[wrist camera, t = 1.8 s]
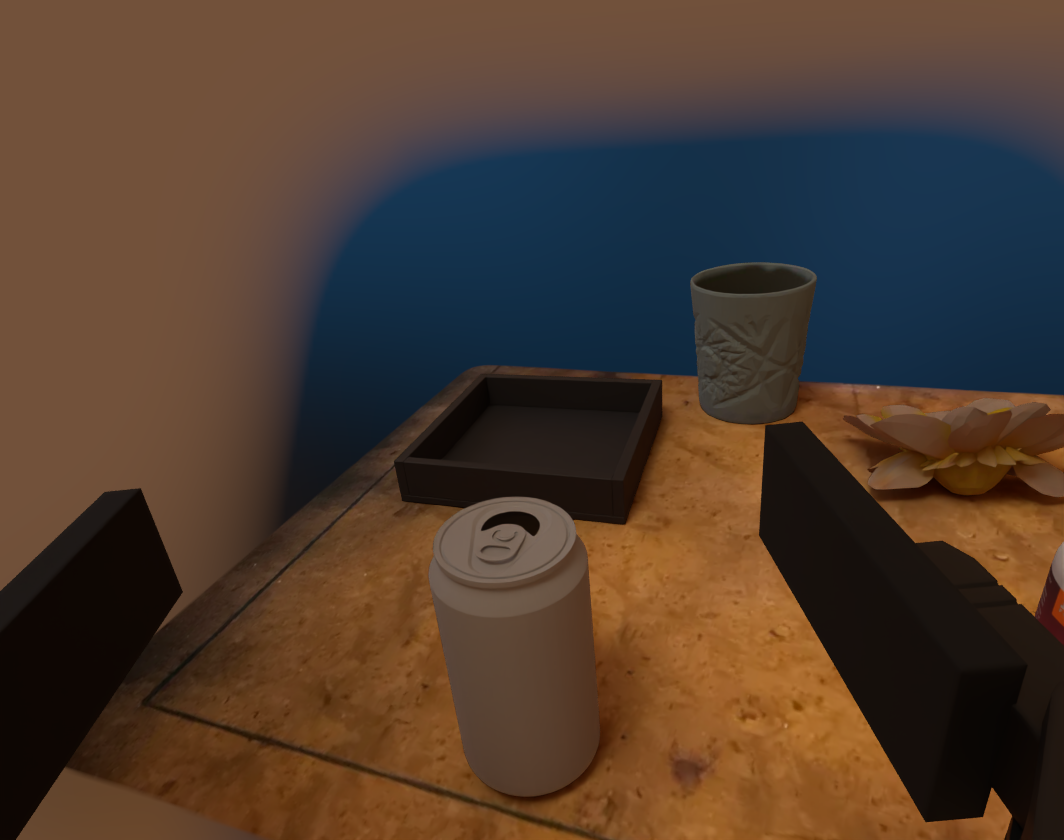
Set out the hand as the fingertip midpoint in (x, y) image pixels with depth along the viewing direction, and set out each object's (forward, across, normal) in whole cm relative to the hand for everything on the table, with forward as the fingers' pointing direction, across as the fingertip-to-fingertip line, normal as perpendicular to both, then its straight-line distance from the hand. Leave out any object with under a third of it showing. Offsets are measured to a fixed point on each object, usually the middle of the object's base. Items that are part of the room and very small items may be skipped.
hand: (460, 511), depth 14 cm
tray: (+38, +2, -19) cm, 42 cm away
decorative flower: (+28, +31, -20) cm, 46 cm away
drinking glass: (+44, +21, -20) cm, 52 cm away
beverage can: (+10, 0, -20) cm, 22 cm away
